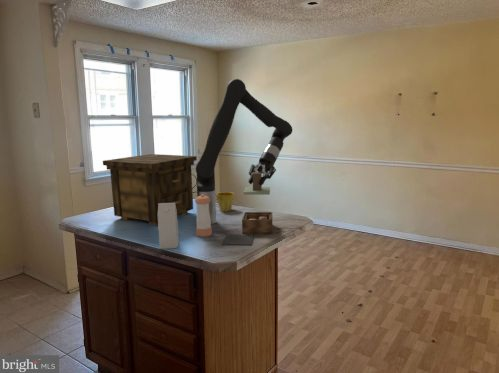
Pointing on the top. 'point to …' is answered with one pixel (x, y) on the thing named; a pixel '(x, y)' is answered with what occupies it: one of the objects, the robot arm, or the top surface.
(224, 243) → the mat
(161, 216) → the milk carton
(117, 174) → the crate
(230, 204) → the plant pot
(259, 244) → the top surface
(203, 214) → the pepper shaker
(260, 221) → the crate
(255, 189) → the lid
